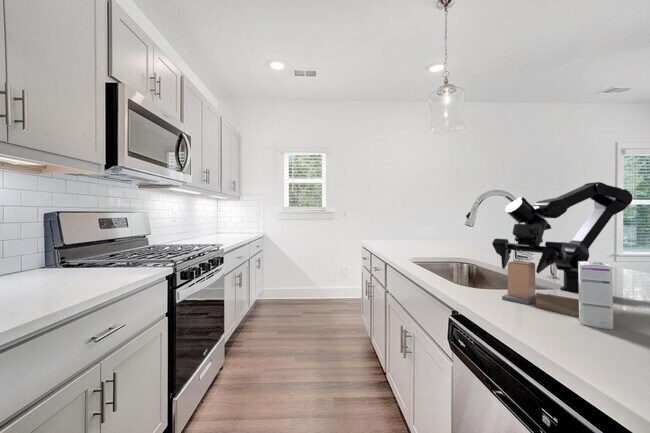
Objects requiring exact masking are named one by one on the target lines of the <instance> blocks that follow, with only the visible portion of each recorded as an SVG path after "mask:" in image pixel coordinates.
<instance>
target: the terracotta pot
mask: <svg viewBox="0 0 650 433" xmlns="http://www.w3.org/2000/svg"><path fill="white" fill-rule="evenodd" d="M507 294H508V295H509V296H514V297H519V298H524V299H530V298H532V297H534V296H535V294H536V263H535V262H533V261H523V260H512V261H508V263H507Z"/></svg>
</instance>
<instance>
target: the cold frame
mask: <svg viewBox="0 0 650 433" xmlns="http://www.w3.org/2000/svg"><path fill="white" fill-rule="evenodd" d="M535 294H536V301H535V305H536V306H535V307H536V308H538V309H542V308H543V310H547V311H552V312H557V313H561V314H566V315H571V316H575V317H579V298H575V297H574V298H573V297H572V298H571V297H567V296H561V295H555V294H550V293H547V294H546V293H540V292H535Z"/></svg>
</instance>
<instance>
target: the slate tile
mask: <svg viewBox="0 0 650 433" xmlns="http://www.w3.org/2000/svg"><path fill="white" fill-rule="evenodd" d="M501 299H502V300H503V301H509V302H513V303H518V304H522V305H523V304H524V305H528V306H529V305H531V304H533V303H535V302H536V293H535V296H534V297H532V298H530V299H524V298H519V297H514V296H509V295H508V293H506V294H504V295H502V296H501ZM534 301H535V302H534Z"/></svg>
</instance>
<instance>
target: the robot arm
mask: <svg viewBox="0 0 650 433" xmlns="http://www.w3.org/2000/svg"><path fill="white" fill-rule="evenodd" d="M589 199H590V200H592V201H593V203H594V210H593V211H592V213H590V215H589V217H588V218H587V219H586V221H584V223H583V225H582V226H581V228H580V229H579V230H578V231H577V233H576V234H575V236H574V237H573V238H572V239H571V240H570V241H569V242H567V241H561V242H560V241H545V243H544V245H543V246H542V245H541V243H542V244H543V237H544V233H545V231H546V230H551V229H552V226H551V224H550V223H549V222H548V221H547V219H558V218H560V217H561V216H563V215H564V214H565V213H566V212H567V211H568V209H569V208H571V207H573V206H575V205H577V204H580V203H582V202H584V201H587V200H589ZM632 201H633V194H632V193H631V192H630V191H629V190H628V189H626V188H621V187H617V186H612V185H608V184H606V183H604V182H602V181H601V182H600V181H597V182H595V181H594V182H588V183H585V184H584V185H582V186H580V187H578V188H575V189H573V190H570V191H569V192H567V193H564V194H562V195H560V196H557V197H555V198H547V199H544V200H543V199H542V200H538V201H536V202H535V203H534V204H533V205H532V204H530V203H529V202H528V200H527V199H526V198H525V197H524V196H521V197H517V199H515V200H513V201H511V202H510V203H509V204H507V205H506V207H505V210H504V211H505V212H506V214H508V215H509V216H510V218H512V219H514V220H515V221H516V222H517V223H515V224H513V229H512V236H513V235H514V241H515V242H517V243H513V242H511V243H510V242H509V239H508V238H494V239H493V240H492V243H491V244H492V246H493V248H494V249H493V250H495V252H496V254H497V255H499V256H500V257H501V260H500V261H501V268H502V269H503V270H505V269H506V267H507V266H508V263H509V262H510V258H511V254H512V251H521V252H524V253H534V254H536V253H537V254H541V256H540V259H539V262H538V264H537V267H536V269H535V273H536V274H540V273H541V272H542V271H544V270H545V269H546V268H548V267H549V266H551V265H552V264H554V263H555V267H556V269H557V270H559V271H563V285H562V286H561V287H560V288H559V290H561V291H562V290H563V291H567V292H568V291H569V292H575V293H579V280H578V262H579V261H580V262H583V261H589V258H590V251H589V249H590V247H591V246H592V244H593V243H594V242H595V241H596V240H597V237H598V236H599V235H600V234H601V232H602V231H603V230H604V228H605V227H606V226H607V224H608V223H609V222H610V220H611V219H612V217H613V216H614V215H616V214H619V213H621V212H622V211H624V210H626V208H628V207H629V205H631V203H632Z"/></svg>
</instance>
